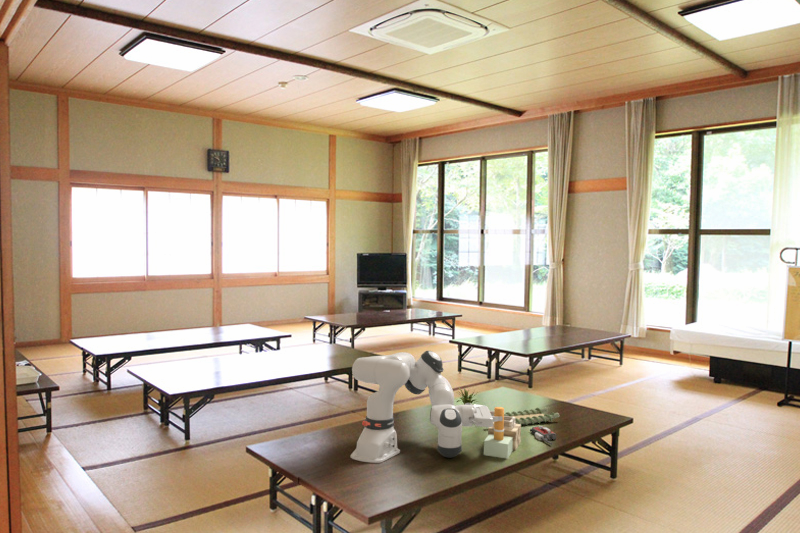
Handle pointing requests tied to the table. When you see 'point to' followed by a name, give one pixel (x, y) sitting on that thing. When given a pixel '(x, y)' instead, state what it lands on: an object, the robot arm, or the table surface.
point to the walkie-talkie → (543, 433)
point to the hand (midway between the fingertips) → (501, 416)
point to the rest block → (498, 446)
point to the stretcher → (532, 416)
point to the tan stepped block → (510, 430)
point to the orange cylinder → (499, 424)
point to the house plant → (466, 397)
